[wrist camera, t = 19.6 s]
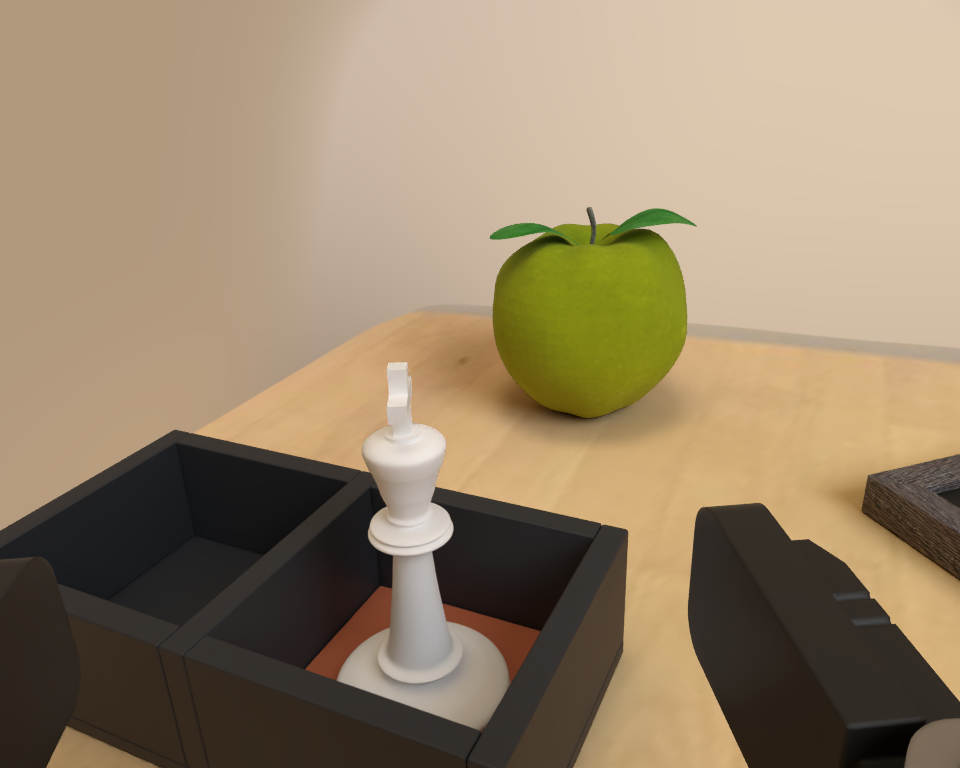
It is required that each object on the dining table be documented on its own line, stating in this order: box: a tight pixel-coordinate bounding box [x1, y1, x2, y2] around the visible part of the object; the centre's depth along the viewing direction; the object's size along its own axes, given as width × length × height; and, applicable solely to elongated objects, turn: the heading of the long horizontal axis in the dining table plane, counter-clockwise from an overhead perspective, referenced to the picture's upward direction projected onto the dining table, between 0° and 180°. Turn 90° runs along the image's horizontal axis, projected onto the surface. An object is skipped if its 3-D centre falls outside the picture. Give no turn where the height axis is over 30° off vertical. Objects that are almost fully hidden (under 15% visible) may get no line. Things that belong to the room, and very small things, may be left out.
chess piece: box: [337, 362, 511, 734], centre depth 21 cm, size 5×5×10 cm
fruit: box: [490, 207, 696, 418], centre depth 39 cm, size 9×9×10 cm
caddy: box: [0, 430, 628, 768], centre depth 24 cm, size 17×9×4 cm, turn 65°
